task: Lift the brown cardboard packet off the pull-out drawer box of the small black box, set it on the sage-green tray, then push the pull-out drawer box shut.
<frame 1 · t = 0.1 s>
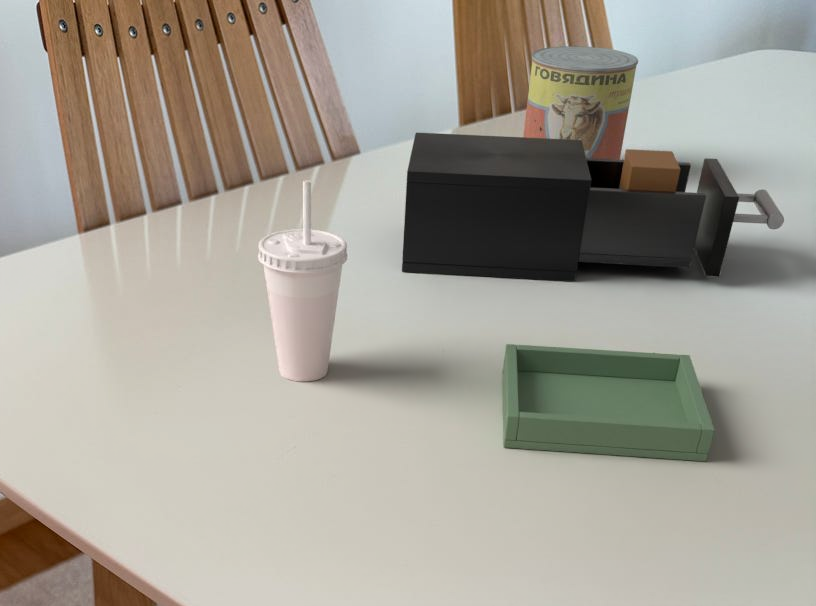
canned food: (567, 175, 120), on the table
smoothie: (303, 373, 80), on the table
pull-out drawer box: (664, 213, 96), point 4 cm above the table, slide at 11.5 cm, touching packet
tray: (597, 414, 75), on the table
black box: (488, 252, 100), on the table
packet: (637, 237, 98), point 2 cm above the table, touching pull-out drawer box
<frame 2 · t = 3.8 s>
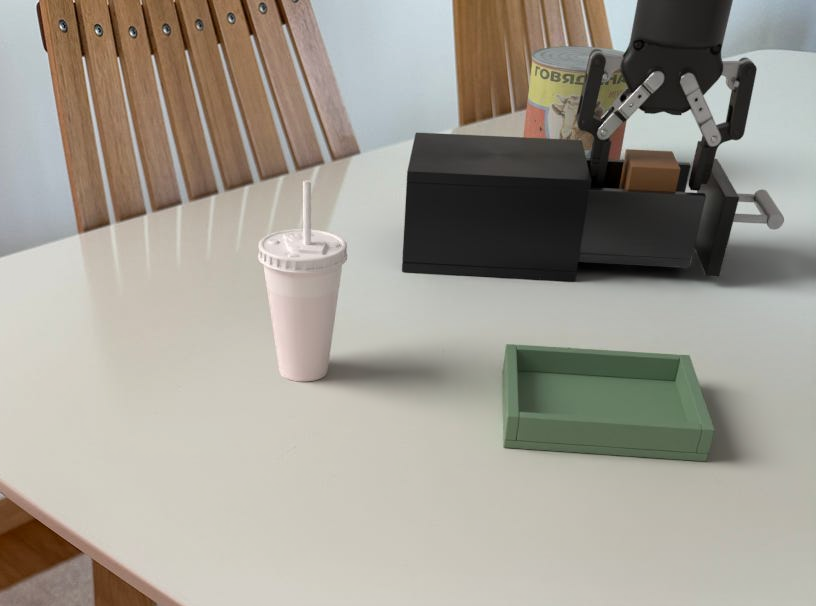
hand: (646, 185, 95), 7 cm above the table, tool pointing down, fingers open, 8 cm apart
nothing on the table moved.
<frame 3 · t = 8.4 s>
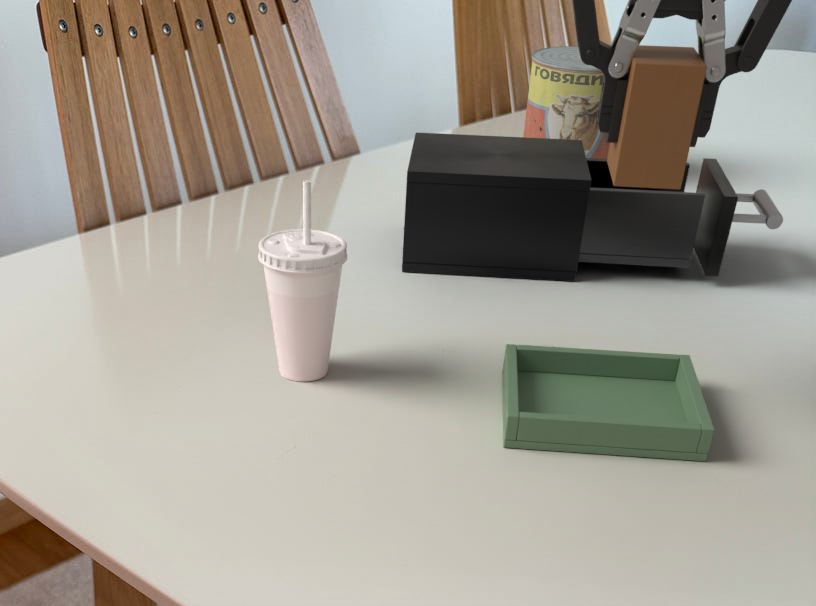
hand: (649, 140, 67), 17 cm above the table, tool pointing down, fingers closed on packet, 4 cm apart
pull-out drawer box: (663, 213, 96), point 4 cm above the table, slide at 11.4 cm
packet: (642, 175, 68), point 15 cm above the table, touching gripper
everything else where it was.
when the fingers open (3 cm above the table, at t = 12.4 s): packet stays where it is, resting on tray.
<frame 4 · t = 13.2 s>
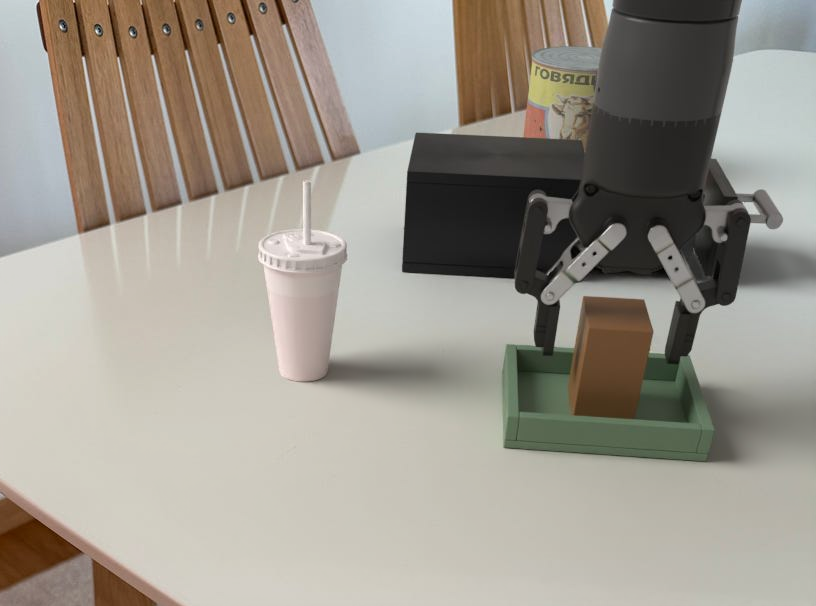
hand: (608, 355, 72), 4 cm above the table, tool pointing down, fingers open, 8 cm apart
packet: (599, 407, 75), point 1 cm above the table, touching tray
everything else where it was.
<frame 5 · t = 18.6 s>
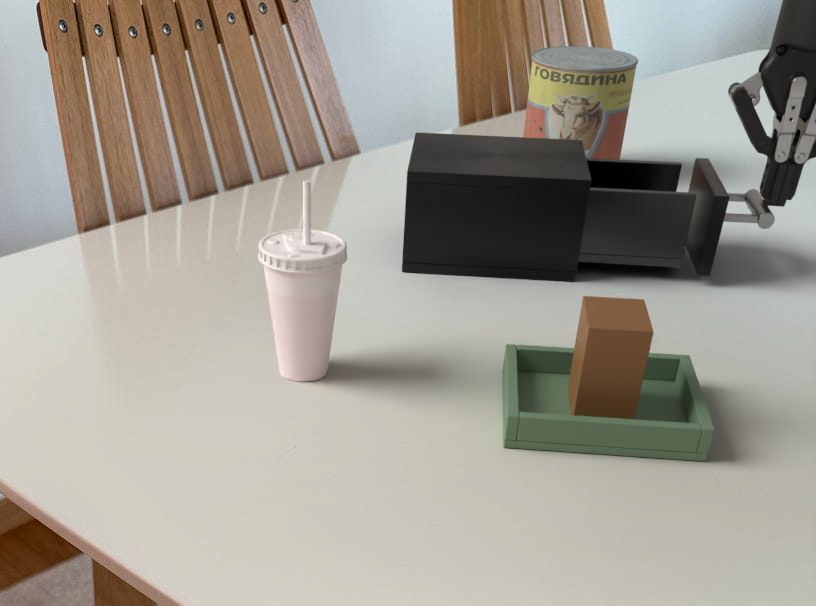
hand: (773, 203, 94), 6 cm above the table, tool pointing down, fingers closed
pull-out drawer box: (655, 213, 96), point 4 cm above the table, slide at 10.7 cm, touching gripper
everything else where it was.
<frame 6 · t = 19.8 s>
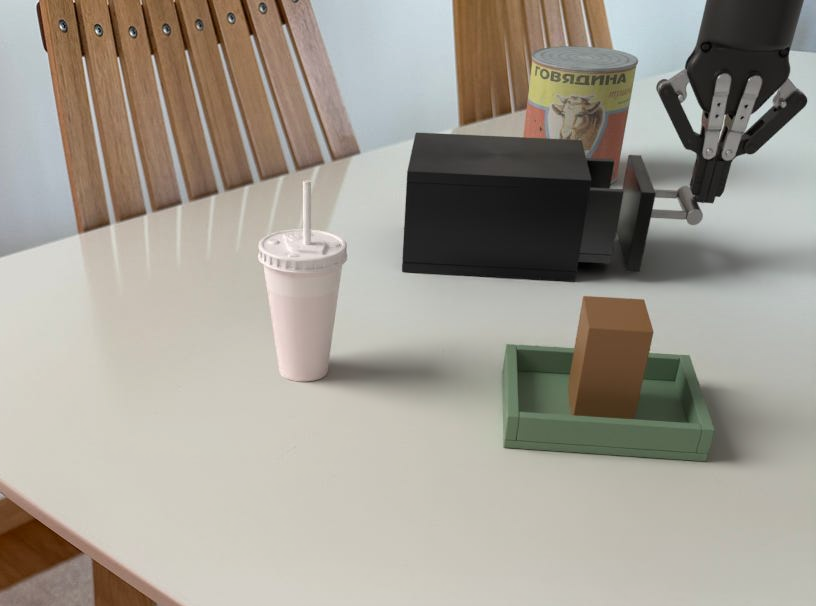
hand: (703, 200, 95), 6 cm above the table, tool pointing down, fingers closed
pull-out drawer box: (587, 209, 97), point 4 cm above the table, slide at 4.5 cm, touching gripper
everything else where it was.
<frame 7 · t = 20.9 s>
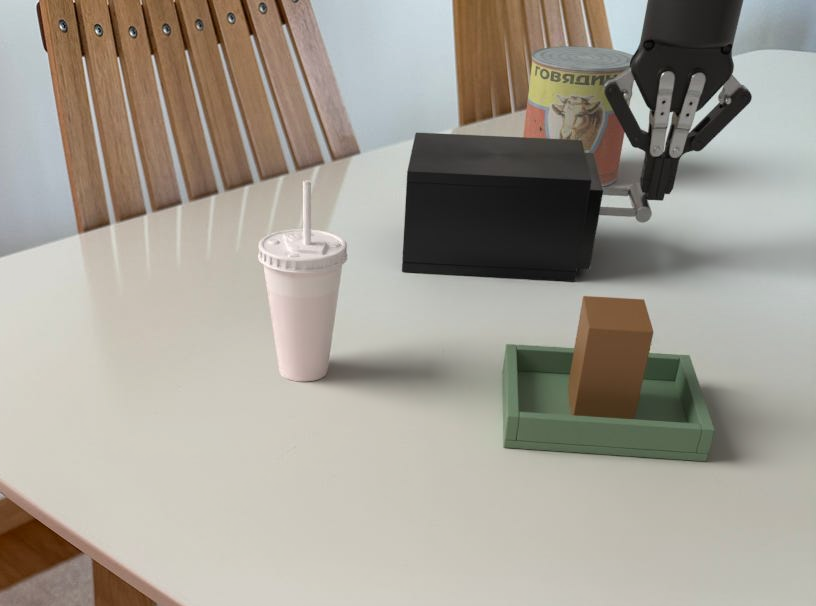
hand: (653, 197, 95), 6 cm above the table, tool pointing down, fingers closed
pull-out drawer box: (539, 207, 97), point 4 cm above the table, slide at 0.0 cm, touching gripper, black box
everything else where it was.
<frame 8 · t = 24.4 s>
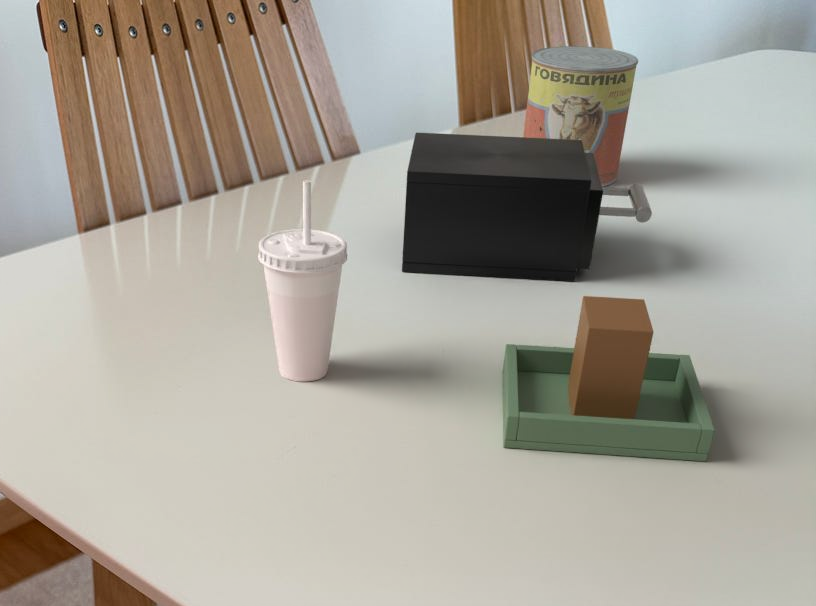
pull-out drawer box: (539, 207, 97), point 4 cm above the table, slide at 0.0 cm
everything else where it was.
at the end: packet inside the target area in the tray (0.1 cm from its centre), point 0.6 cm above the tray's base; packet tilted 0°; pull-out drawer box slide at 0.0 cm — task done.
